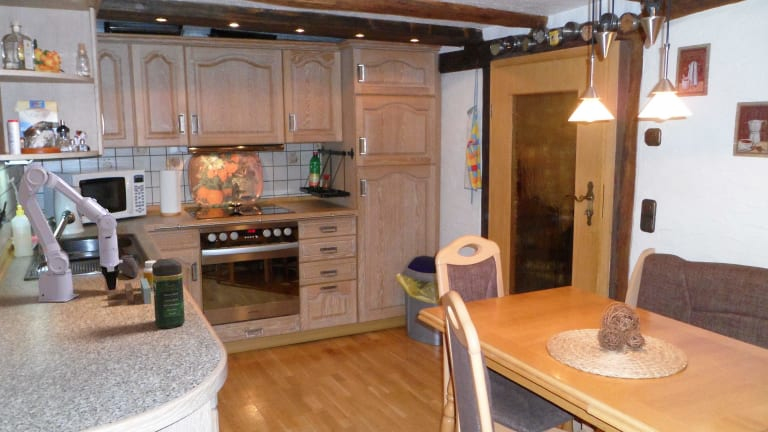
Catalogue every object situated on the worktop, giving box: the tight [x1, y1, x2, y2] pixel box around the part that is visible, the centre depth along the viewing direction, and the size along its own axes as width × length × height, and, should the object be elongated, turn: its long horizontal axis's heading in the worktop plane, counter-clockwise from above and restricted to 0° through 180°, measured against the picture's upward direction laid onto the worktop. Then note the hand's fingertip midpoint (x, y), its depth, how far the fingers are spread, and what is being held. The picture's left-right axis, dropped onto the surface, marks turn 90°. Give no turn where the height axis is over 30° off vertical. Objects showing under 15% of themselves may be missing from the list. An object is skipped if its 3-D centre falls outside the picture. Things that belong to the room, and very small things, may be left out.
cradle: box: [106, 282, 135, 308], centre depth 196 cm, size 8×10×4 cm
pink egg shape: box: [103, 276, 119, 295], centre depth 207 cm, size 4×4×6 cm
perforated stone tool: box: [118, 254, 139, 279], centre depth 230 cm, size 15×5×7 cm, turn 35°
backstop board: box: [139, 278, 152, 305], centre depth 200 cm, size 2×14×5 cm, turn 26°
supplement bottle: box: [142, 260, 157, 292], centre depth 211 cm, size 5×5×10 cm
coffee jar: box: [152, 258, 186, 329], centre depth 173 cm, size 10×8×19 cm
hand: (111, 287), depth 207 cm, fingers open, 5 cm apart
